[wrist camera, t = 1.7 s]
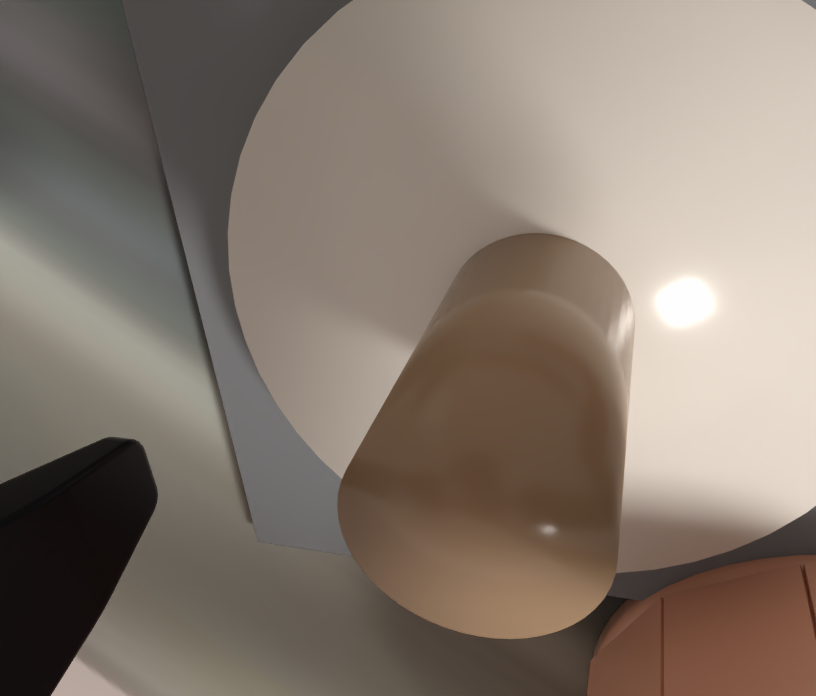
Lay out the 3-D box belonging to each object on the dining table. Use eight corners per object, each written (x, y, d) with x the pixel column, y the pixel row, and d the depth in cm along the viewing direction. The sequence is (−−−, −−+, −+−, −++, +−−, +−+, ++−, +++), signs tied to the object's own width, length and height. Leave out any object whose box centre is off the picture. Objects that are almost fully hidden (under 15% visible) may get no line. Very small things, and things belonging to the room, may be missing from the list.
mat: (912, 626, 14) (917, 643, 14) (265, 530, 19) (257, 541, 18) (1233, -308, 8) (1258, -319, 7) (102, -135, 12) (86, -137, 11)
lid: (845, 573, 14) (945, 945, 9) (305, 501, 17) (158, 744, 12) (1029, -123, 8) (1536, -164, 4) (193, -35, 12) (-150, 9, 7)
